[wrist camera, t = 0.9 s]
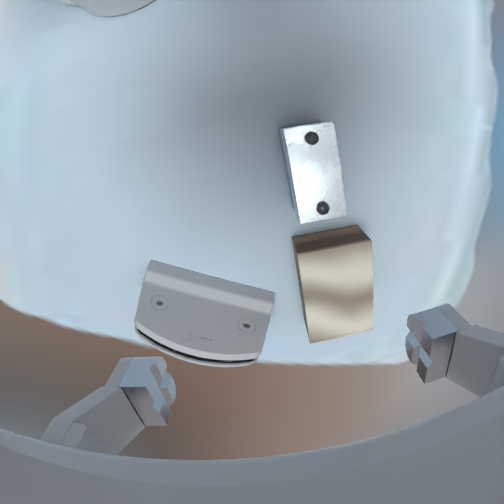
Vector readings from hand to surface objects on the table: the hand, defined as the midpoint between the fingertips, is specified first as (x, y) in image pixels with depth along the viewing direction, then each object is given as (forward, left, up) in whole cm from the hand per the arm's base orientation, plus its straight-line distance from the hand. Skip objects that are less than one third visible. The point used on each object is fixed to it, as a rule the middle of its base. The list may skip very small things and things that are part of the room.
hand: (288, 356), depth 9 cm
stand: (+13, +6, -26) cm, 30 cm away
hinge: (+13, -10, -27) cm, 31 cm away
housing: (-1, +5, -26) cm, 27 cm away
